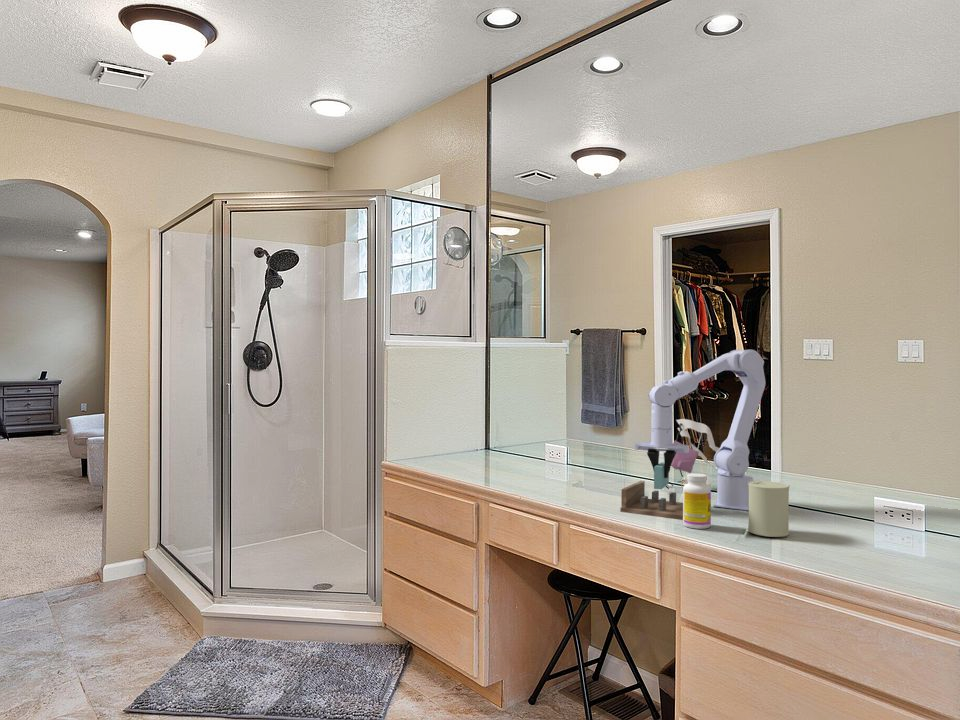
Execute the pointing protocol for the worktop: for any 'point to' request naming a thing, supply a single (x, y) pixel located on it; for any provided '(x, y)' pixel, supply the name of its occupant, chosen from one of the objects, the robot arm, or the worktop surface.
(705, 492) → the supplement bottle
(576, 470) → the worktop surface
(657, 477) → the door panel
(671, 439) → the robot arm
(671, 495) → the board
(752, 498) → the can
